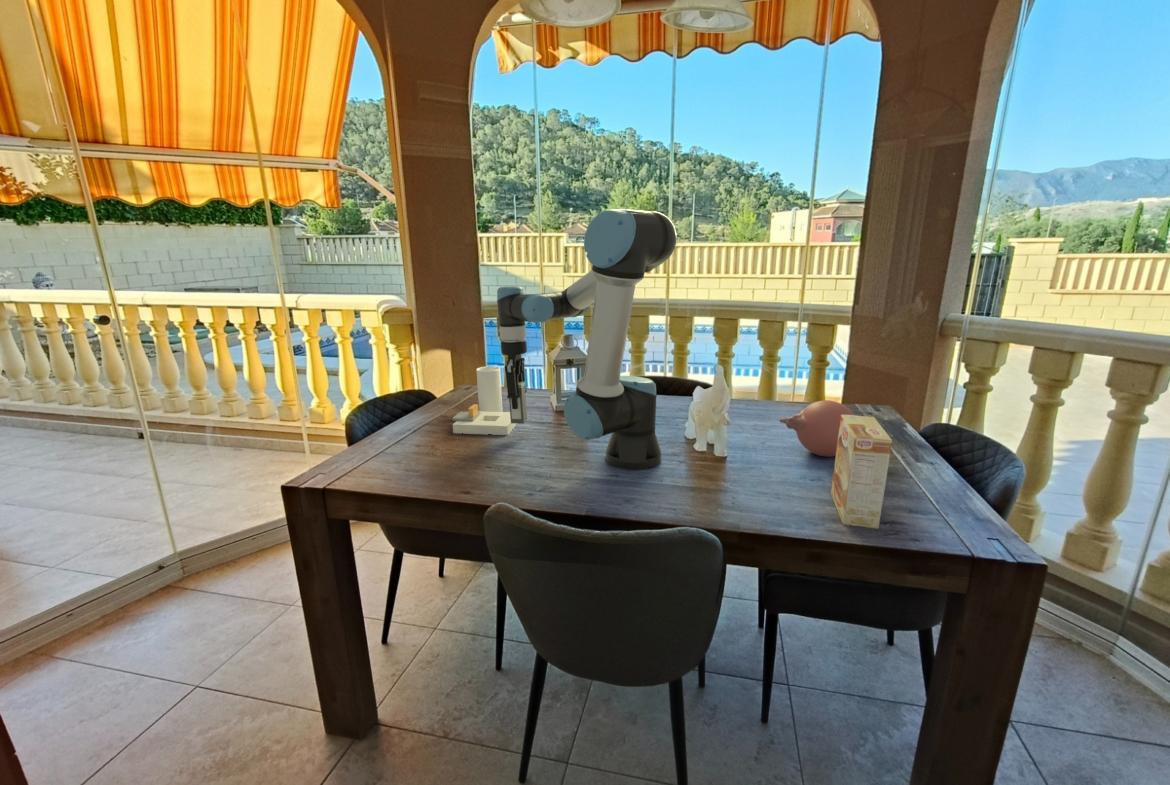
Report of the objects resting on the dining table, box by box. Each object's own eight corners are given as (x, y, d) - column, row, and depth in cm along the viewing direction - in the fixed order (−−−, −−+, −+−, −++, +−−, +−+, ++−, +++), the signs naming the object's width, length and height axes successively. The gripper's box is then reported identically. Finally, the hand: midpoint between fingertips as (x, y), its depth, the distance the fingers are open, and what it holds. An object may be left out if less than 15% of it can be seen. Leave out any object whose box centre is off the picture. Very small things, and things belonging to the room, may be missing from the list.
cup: (483, 408, 187) (480, 365, 182) (505, 408, 186) (502, 366, 181) (476, 414, 179) (472, 371, 175) (498, 415, 178) (495, 371, 174)
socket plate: (519, 420, 172) (519, 412, 171) (508, 435, 159) (507, 426, 158) (468, 419, 174) (468, 411, 174) (453, 433, 161) (452, 424, 160)
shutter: (480, 414, 169) (479, 403, 168) (473, 421, 163) (472, 409, 162) (460, 413, 170) (459, 403, 169) (452, 420, 164) (451, 409, 163)
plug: (527, 419, 156) (524, 381, 153) (523, 423, 152) (521, 384, 149) (514, 419, 156) (511, 381, 153) (510, 423, 152) (507, 384, 149)
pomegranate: (773, 441, 150) (777, 391, 146) (846, 446, 146) (852, 395, 142) (780, 461, 136) (785, 407, 132) (861, 467, 131) (869, 411, 127)
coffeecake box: (829, 492, 118) (839, 413, 113) (863, 496, 116) (875, 416, 111) (841, 524, 104) (853, 436, 99) (879, 529, 102) (894, 439, 97)
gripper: (509, 336, 157) (514, 408, 162) (491, 344, 140) (498, 424, 146) (532, 335, 156) (537, 408, 161) (518, 344, 139) (523, 425, 145)
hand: (518, 416), depth 154 cm, fingers closed on plug, 4 cm apart
